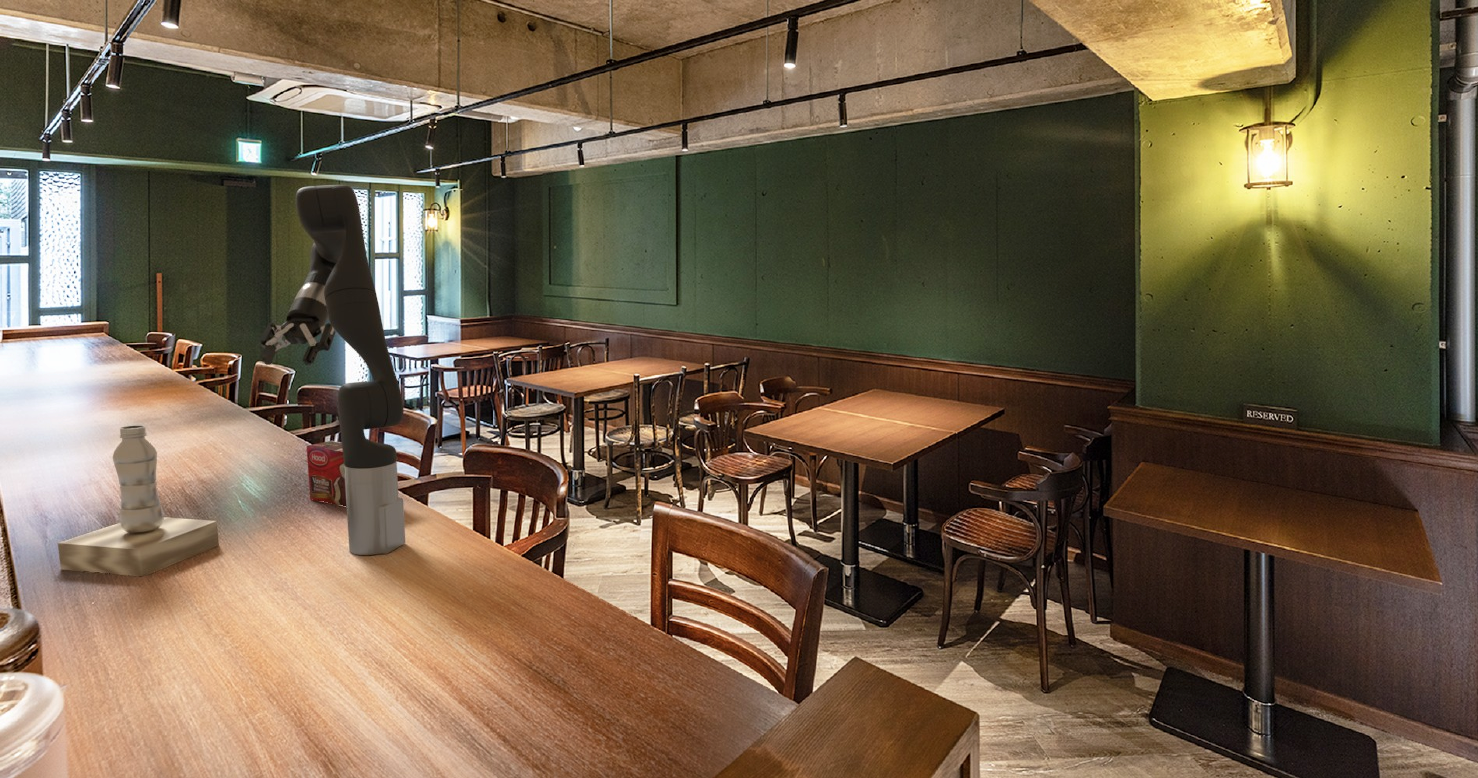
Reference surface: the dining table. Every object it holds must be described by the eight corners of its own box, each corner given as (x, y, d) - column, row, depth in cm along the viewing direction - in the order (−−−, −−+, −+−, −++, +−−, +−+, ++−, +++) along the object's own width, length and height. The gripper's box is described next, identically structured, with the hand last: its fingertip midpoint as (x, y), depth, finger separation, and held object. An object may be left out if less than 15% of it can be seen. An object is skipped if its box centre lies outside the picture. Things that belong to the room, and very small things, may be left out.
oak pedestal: (218, 545, 146) (216, 521, 145) (142, 576, 130) (139, 549, 129) (144, 539, 148) (142, 515, 148) (60, 569, 133) (57, 543, 132)
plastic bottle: (140, 538, 135) (129, 431, 132) (111, 534, 136) (99, 429, 134) (174, 527, 141) (164, 424, 138) (146, 524, 143) (135, 422, 140)
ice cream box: (391, 504, 174) (388, 449, 172) (368, 512, 168) (364, 455, 166) (334, 493, 182) (331, 440, 180) (310, 500, 177) (306, 445, 175)
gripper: (272, 295, 164) (243, 351, 155) (336, 296, 165) (311, 352, 155) (287, 317, 170) (260, 373, 161) (350, 318, 171) (326, 374, 161)
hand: (286, 362), depth 158 cm, fingers open, 8 cm apart
